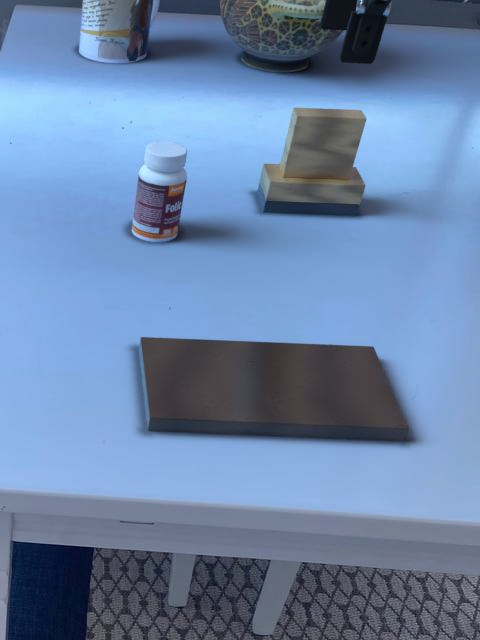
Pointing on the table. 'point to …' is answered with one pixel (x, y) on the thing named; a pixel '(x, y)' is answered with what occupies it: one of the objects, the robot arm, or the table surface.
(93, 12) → the mug
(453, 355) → the table surface
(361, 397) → the board
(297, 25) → the decorative ceramic pot
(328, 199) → the wooden handled stamp
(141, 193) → the pill bottle
